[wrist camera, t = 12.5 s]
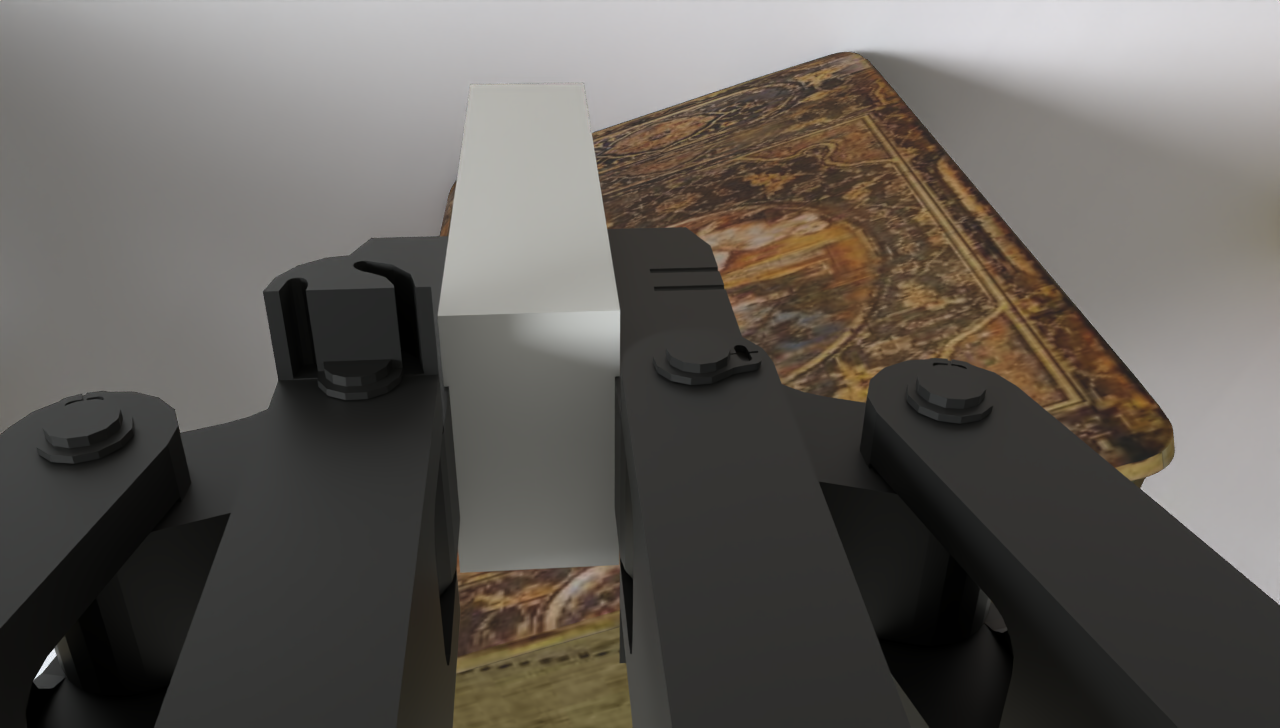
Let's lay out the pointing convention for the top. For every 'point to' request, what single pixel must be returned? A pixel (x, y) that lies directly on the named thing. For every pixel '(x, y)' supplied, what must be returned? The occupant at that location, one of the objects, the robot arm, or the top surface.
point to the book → (803, 326)
